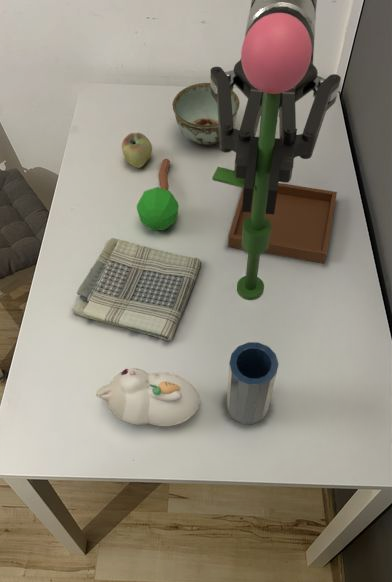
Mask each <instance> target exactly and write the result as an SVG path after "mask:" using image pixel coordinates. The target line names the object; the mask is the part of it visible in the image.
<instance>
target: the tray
mask: <svg viewBox="0 0 392 582" xmlns="http://www.w3.org/2000/svg"><path fill="white" fill-rule="evenodd" d="M243 191H244V188H242V189H241V193H240V196H239V200H238V203H237V207H236V210H235V213H234V217H233V220H232V223H231V227H230V231H229V234H228V238H227V239H228V240H227V247H228V248H234V249H239V250H244V249H243V247H242V232H243V223H244V221H245V220H246V219H247V218H248V217H250V216H252V206H251V212H242V206H243ZM253 194H254V191H253ZM337 195H338V192H337V191H334V190H328V189H321V188H316V187H315V188H314V187H308V186H302V185H295V184H289V183H284V182H278V191H277V198H276V205H275V212H274V214H265V217H266V218H267V219H268V220H269V221H270V222H271V233H270V240H269V247H268V249H267V250H266V251H265V252H264V253H263V254H267V255H274V256H278V257H279V256H280V257H285V258H290V259H297V260H302V261H307V262H314V263H320V264H325V261H326V258H327V255H328V248H329V243H330V237H331V236H330V235H331V231H332V225H333V220H334V213H335V207H336V201H337ZM252 205H253V198H252Z"/></svg>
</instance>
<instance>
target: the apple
mask: <svg viewBox="0 0 392 582" xmlns="http://www.w3.org/2000/svg"><path fill="white" fill-rule="evenodd" d="M121 151H122V155H123V156H124V159H125V160H126V162H127V163H128V164H130V165H132V166H133V167H135V168H138V169H140V168H142V167H144V166H145V165H146V163H147V162H148V160H150V158H151V156H152V153H153V145H152V142H151V141H150V139H149V138H148V137H147V136H146V135H145V134H143V133H141V132H130V133H129V134H128V135H126V136H125V137H124V138H123V140H122V143H121Z"/></svg>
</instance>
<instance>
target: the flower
mask: <svg viewBox="0 0 392 582" xmlns="http://www.w3.org/2000/svg"><path fill="white" fill-rule="evenodd" d="M243 39H244V40H243V41H242V46H241V51H240V56H241V57H240V59H241V62H242V68H243V71H244V73H245V76H246V78H247V79H248V81H249V82H250V83H251V84H252V85H253V86H254V87H255V88H256V89H258V90H260V91H262V92H263V99H262V109H261V116H260V119H259V133H258V137H259V141H258V157H257V167H256V176H255V183H254V194H253V205H252V216H250V217H248V218H247V219H246V220H245V221H244V223H243V232H242V247H243V249H242V250H244V252H246V253H247V257H246V258H247V259H246V268H245V269H246V270H245V275H244V276H242V277H241V278H239V280H238V281H237V283H236V292H237V295H238V296H239V297H240V298H241V299H243V300H245V301H256V300H258V299H259V298H261V297H262V296H263V294H264V291H265V283H264V281H263V279H261V278H260V277H259V276H258V275H259V268H260V259H261V255H262V254H265V253H264V252H265V251H266V250H267V249H268V247H269V240H270V233H271V222H270V221H269V220H268V219H267V218H266V217H265V213H266V205H267V196H268V187H269V178H270V169H271V162H272V154H273V147H274V142H275V138H276V133H277V125H278V118H279V103H280V95H281V93H283V92H286V91H288V90H290V89H292V88H293V87H295V86H296V85H297V84H298V83H299V82H300V81H301V80H302V78H303V77H304V75H305V74H306V72H307V70H308V67H309V65H310V61H311V55H312V44H311V39H310V36H309V33H308V31H307V29H306V27H305V26H304V25H303V24H302V22H301V21H299V20H298V19H297V18H296V17H294V16H292V15H290V14H286V13H272V14H269V15H267V16H264V17H262V18H261V19H259V20H258V21H257V22H256V23H255V24H254V25H253V26H252V27H251V28H250V30H249V31H248V33H247V35H246V37H245V36H244V38H243ZM211 180H212V181H214V182H218V183H221V184H225V185H229V186H234V187H238V188H242V189H243V188H244V183H245V179H243V178H236V177H235V174H234V170H233V169H229V168H225V167H221V166H217V168H216V170H215V171H214V173H213V175H212V177H211Z"/></svg>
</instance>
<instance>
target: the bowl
mask: <svg viewBox="0 0 392 582" xmlns="http://www.w3.org/2000/svg"><path fill="white" fill-rule="evenodd" d="M231 102H232V114H233V125H234V126H235V124H236V120H237V117H238V111H239V109H240V98H239V97H238V94H237V93H236V92H235V91H234V90H233V91H232V92H231ZM171 104H172V110H173V113H174V117H175V121H176V123H177V126H178V127H179V129H180V131H181V133H182V134H183V135H184V136H185V137H186V138H187V139H189V140H190V141H192V142H194V143H195V144H197V145H199V146H201V147H210V146H213V145H216V144H218V143H220V139H219V124H218V109H217V102H216V101H215V99H214V98H213V96H212V95H211V82H201V83H195V84H191V85H189V86H187V87H185V88H183V89H182V90H180V91H179V92H178V93H177V94H176V95H175V96H174V98H173V101H172V103H171Z"/></svg>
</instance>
